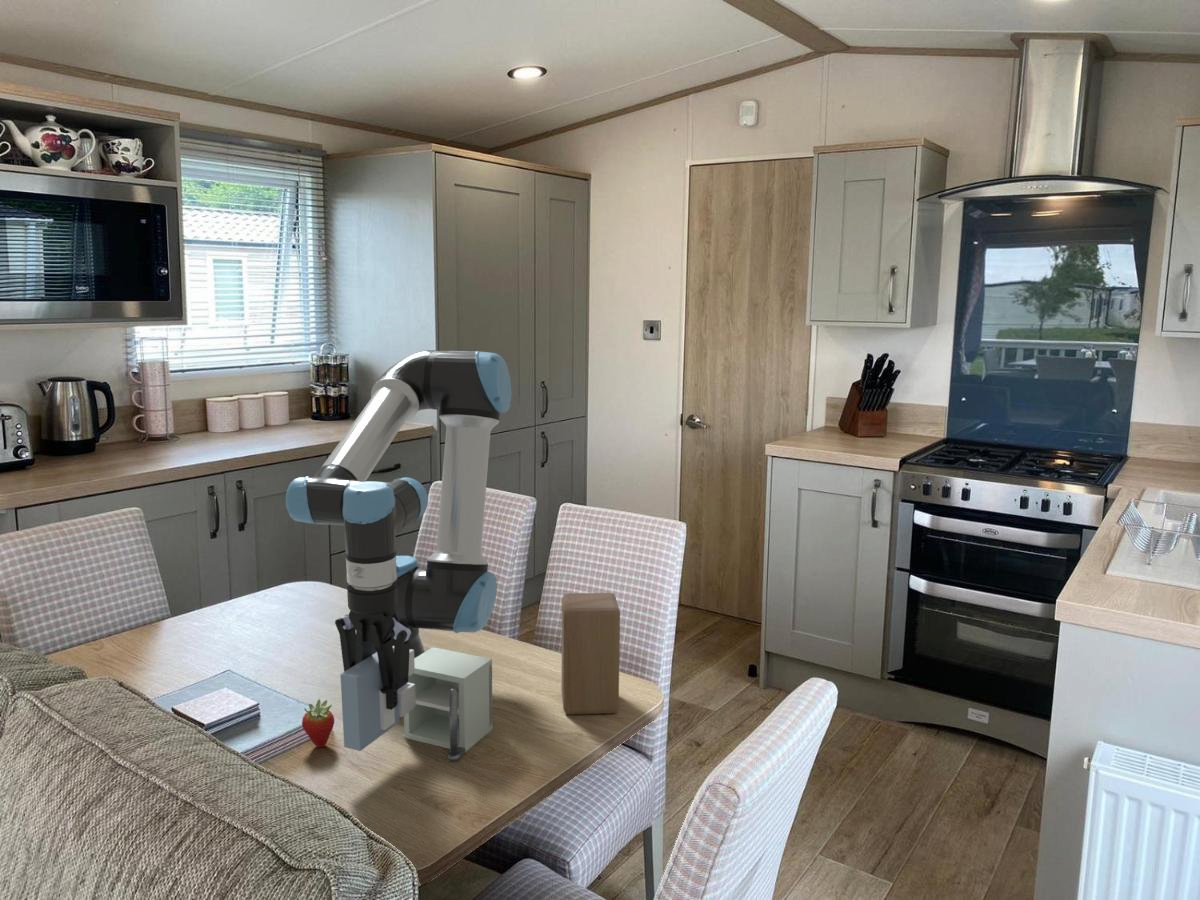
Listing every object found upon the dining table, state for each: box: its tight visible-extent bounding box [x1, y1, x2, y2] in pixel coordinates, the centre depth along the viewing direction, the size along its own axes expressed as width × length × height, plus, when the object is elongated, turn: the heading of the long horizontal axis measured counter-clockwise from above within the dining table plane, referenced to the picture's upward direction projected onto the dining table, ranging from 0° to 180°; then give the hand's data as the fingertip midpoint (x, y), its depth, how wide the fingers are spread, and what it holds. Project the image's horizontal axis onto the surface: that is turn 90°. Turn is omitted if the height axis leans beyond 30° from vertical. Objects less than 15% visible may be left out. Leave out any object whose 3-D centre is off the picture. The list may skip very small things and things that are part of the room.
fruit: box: [301, 698, 335, 748], centre depth 155 cm, size 5×5×8 cm
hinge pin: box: [447, 689, 466, 763], centre depth 152 cm, size 2×4×12 cm, turn 156°
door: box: [340, 646, 416, 752], centre depth 148 cm, size 4×14×12 cm, turn 156°
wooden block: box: [561, 592, 621, 715], centre depth 171 cm, size 10×10×20 cm
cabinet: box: [403, 646, 493, 753], centre depth 160 cm, size 12×9×13 cm
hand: (378, 723), depth 148 cm, fingers closed on door, 3 cm apart
